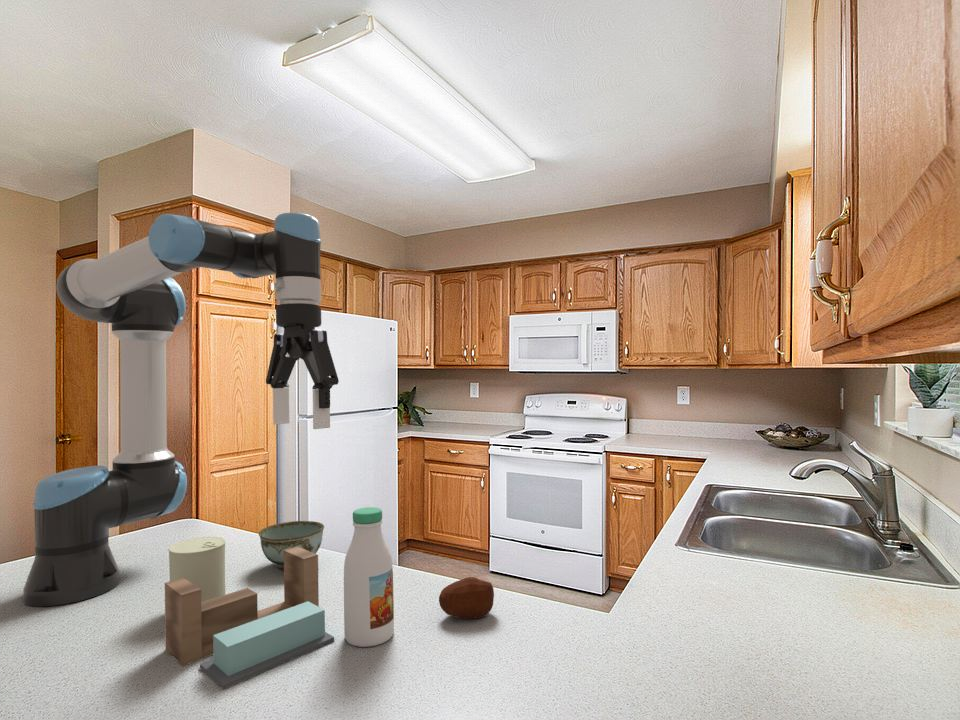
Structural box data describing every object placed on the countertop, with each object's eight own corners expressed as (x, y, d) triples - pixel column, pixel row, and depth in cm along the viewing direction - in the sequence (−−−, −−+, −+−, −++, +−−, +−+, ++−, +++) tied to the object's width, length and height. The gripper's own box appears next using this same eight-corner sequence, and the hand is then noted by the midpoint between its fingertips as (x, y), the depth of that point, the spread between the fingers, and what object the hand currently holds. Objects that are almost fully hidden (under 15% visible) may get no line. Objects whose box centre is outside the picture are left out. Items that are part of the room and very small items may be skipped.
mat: (199, 667, 79) (199, 663, 79) (307, 625, 91) (307, 621, 91) (223, 689, 73) (223, 684, 73) (334, 640, 86) (334, 637, 86)
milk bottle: (351, 653, 82) (349, 519, 82) (339, 632, 89) (337, 508, 89) (400, 640, 85) (398, 512, 86) (385, 620, 92) (383, 501, 92)
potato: (493, 626, 90) (492, 587, 90) (436, 626, 90) (436, 587, 90) (494, 607, 97) (493, 571, 97) (442, 607, 97) (441, 571, 97)
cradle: (165, 649, 84) (164, 582, 84) (298, 602, 100) (297, 546, 100) (182, 666, 79) (181, 595, 79) (318, 613, 95) (317, 554, 96)
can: (203, 622, 93) (202, 551, 93) (156, 618, 95) (155, 549, 95) (237, 599, 102) (236, 535, 102) (194, 596, 104) (193, 533, 104)
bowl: (313, 577, 112) (312, 538, 112) (248, 578, 112) (247, 539, 113) (332, 554, 126) (331, 519, 126) (273, 555, 126) (273, 520, 126)
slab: (213, 663, 79) (213, 635, 79) (308, 625, 90) (308, 601, 90) (228, 676, 75) (227, 646, 75) (324, 635, 86) (324, 609, 86)
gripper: (245, 309, 101) (247, 423, 101) (317, 295, 84) (319, 432, 84) (283, 311, 107) (285, 420, 107) (358, 298, 90) (360, 428, 90)
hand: (300, 426), depth 95 cm, fingers open, 13 cm apart
